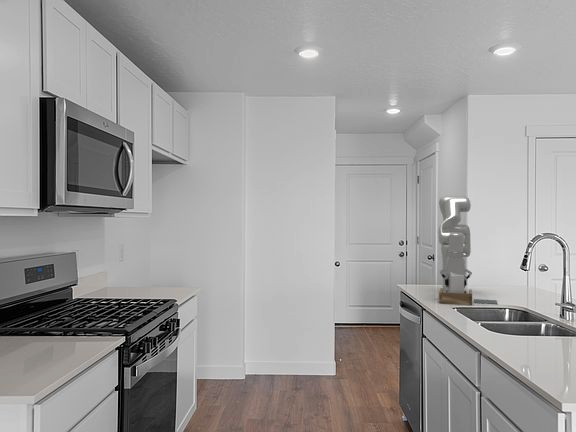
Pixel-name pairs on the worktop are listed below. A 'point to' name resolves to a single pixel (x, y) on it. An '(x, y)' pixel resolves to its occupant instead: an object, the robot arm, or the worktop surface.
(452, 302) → the rack
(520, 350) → the worktop surface
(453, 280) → the milk carton
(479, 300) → the mat
